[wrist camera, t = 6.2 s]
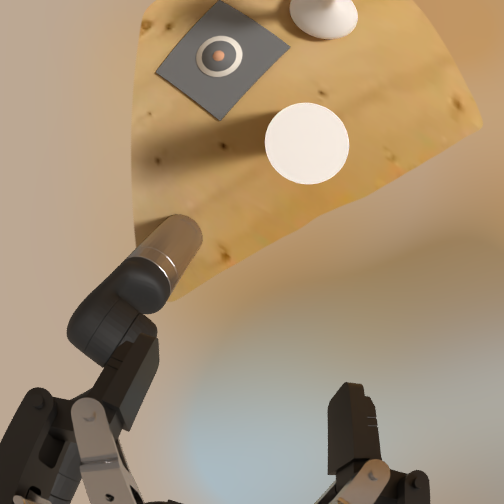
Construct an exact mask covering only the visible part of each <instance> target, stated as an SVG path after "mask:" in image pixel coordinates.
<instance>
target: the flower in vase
mask: <svg viewBox="0 0 504 504" xmlns="http://www.w3.org/2000/svg"><path fill="white" fill-rule="evenodd" d="M290 15H291V17H292V19H293V21H294V23H295V24H296V25H297V26H298V27H299V28H300V29H301V30H302V31H304V32H305V33H307V34H309V35H311V36H314V37H317V38H321V39H338V38H341V37H344V36H346V35H348V34H349V33H351V32H352V31H353V29H354V28H355V26H356V24H357V20H358V14H357V10H356V7H355V6H354V4H353V2H352V1H351V0H291V2H290Z"/></svg>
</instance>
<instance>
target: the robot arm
mask: <svg viewBox="0 0 504 504" xmlns="http://www.w3.org/2000/svg"><path fill="white" fill-rule="evenodd" d="M201 244H202V233H201V230H200V228H199V226H198V225H197V223H196V222H195V221H194V220H192V219H191V218H189V217H187V216H184V215H172V216H170V217H168V218H167V219H166V220H165V221H164V222H163V223H162V224H160V225H159V226H158V227H157V228H156V229H155V230H154V231H153V232H152V233H151V234H150V235H149V236H148V237H147V238H146V239H145V240H144V241H143V242H142V243H141V244H140V245H139V246H138V247H137V248H136V249H135V250H134V251H133V252H132V253H131V254H130V255H129V256H128V257H127V258H126V259H125V260H124V261H123V262H122V263H121V265H120V266H118V267H117V268H116V269H115V270H114V271H113V272H112V274H110V275H109V276H108V277H107V278H106V279H105V280H104V281H103V282H102V283H101V284H100V285H99V286H98V287H97V288H96V289H95V290H93V291H92V293H90V294H89V295H88V296H87V297H86V299H84V301H83V302H82V303H81V304H80V305H79V306H78V308H77V309H76V311H75V312H74V313H73V315H72V317H71V319H70V321H69V324H68V327H67V337H68V339H69V341H70V342H71V343H72V344H73V345H74V346H75V347H76V348H78V349H79V350H80V351H81V352H83V353H84V354H85V355H86V356H88V357H89V358H90V359H92V360H93V361H94V362H96V363H97V364H98V365H100V366H101V367H104V369H103V371H102V373H101V374H100V376H99V378H98V379H97V381H96V383H95V384H94V386H93V388H91V389H90V390H88V391H86V392H84V393H83V394H81V395H79V396H77V397H75V398H73V399H71V400H66V399H61V398H56V397H52V395H51V394H50V393H49V392H48V391H47V390H46V389H44V388H39V387H37V388H33V389H31V390H29V391H28V392H27V394H26V395H25V397H24V399H23V401H22V402H21V404H20V406H19V408H18V410H17V411H16V413H15V415H14V417H13V419H12V421H11V423H10V425H9V426H8V429H7V430H6V432H5V435H4V436H3V439H2V441H1V443H0V504H70V503H71V500H72V498H73V496H74V494H75V492H76V489H77V487H78V485H79V483H80V480H81V478H82V479H83V482H84V485H85V488H86V492H87V494H88V497H89V500H90V503H91V504H181V503H178V502H175V501H172V500H168V502H160V501H158V502H148V503H145V502H144V500H143V498H142V495H141V493H140V491H139V489H138V487H137V484H136V482H135V480H134V478H133V476H132V474H131V472H130V469H129V467H128V464H127V461H126V458H125V455H124V453H123V450H122V447H121V444H120V440H119V435H120V432H121V430H122V429H124V430H126V431H130V429H131V427H132V424H133V422H134V420H135V417H136V415H137V413H138V411H139V409H140V406H141V404H142V402H143V399H144V397H145V395H146V393H147V391H148V389H149V387H150V385H151V382H152V380H153V378H154V376H155V374H156V371H157V369H158V365H159V344H158V338H156V337H157V327H156V325H155V324H154V323H153V322H152V321H151V320H150V319H148V318H147V317H146V316H145V315H143V314H152V313H155V312H157V311H159V310H160V309H161V308H162V307H163V306H164V305H165V303H166V301H167V300H168V298H169V296H170V295H171V293H172V291H173V290H174V288H175V286H176V285H177V283H178V281H179V280H180V278H181V276H182V275H183V273H184V272H185V270H186V268H187V267H188V265H189V264H190V262H191V261H192V259H193V258H194V256H195V254H196V253H197V251H198V250H199V248H200V246H201ZM328 475H336V481H334V483H332V485H331V486H330V487H329V488H328V489H327V491H325V493H324V494H323V495H322V496H321V497H320V498H319V499H318V500H317V501H316V502H315V503H314V504H430V487H429V479H428V476H427V475H426V474H425V473H424V472H423V471H419V470H416V471H412V472H411V473H409V474H406V473H402V472H398V471H394V470H391V469H389V467H388V465H387V464H386V463H385V462H384V461H382V458H381V453H380V443H379V434H378V427H377V419H376V410H375V406H374V404H373V402H372V400H371V398H370V397H366V396H365V395H364V388H363V385H362V384H356V383H348V382H345V383H344V384H343V385H342V386H341V388H340V389H339V390H338V391H337V393H336V394H335V395H334V397H333V398H332V399H331V401H330V403H329V406H328Z"/></svg>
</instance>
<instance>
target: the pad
mask: <svg viewBox="0 0 504 504" xmlns="http://www.w3.org/2000/svg"><path fill="white" fill-rule="evenodd" d="M289 48H290V46H289V45H287V44H286V43H285V42H283V41H282V40H281V39H279V38H278V37H277V36H275V35H274V34H273V33H271V32H270V31H268V30H267V29H265V28H264V27H263V26H261V25H260V24H258V23H257V22H255V21H254V20H252V19H250V18H249V17H247V16H246V15H244V14H243V13H241V12H239V11H238V10H236V9H234V8H233V7H231V6H229V5H228V4H226V3H224V2H222V1H221V0H219V1H218V2H217V3H216V4H215V5H214V6H213V7H212V8H211V9H210V10H209V11H208V12H207V13H206V14H205V15H204V16H203V17H202V18H201V19H200V20H199V21H198V22H197V23H196V24H195V25H194V26H193V27H192V28H191V30H190V31H189V32H188V33H187V34H186V35H185V36H184V38H183V39H182V40H181V41H180V42H179V43H178V45H177V46H176V47H175V48H174V49H173V51H172V52H171V53H170V54H169V56H168V57H167V58H166V59H165V61H164V62H163V63H162V64H161V66H160V67H159V68H158V70H157V71H156V73H158V74H159V75H161V76H162V77H163V78H165V79H166V80H168V81H169V82H170V83H172V84H173V85H174V86H176V87H177V88H178V89H180V90H181V91H182V92H184V93H185V94H186V95H188V96H189V97H190V98H192V99H193V100H194V101H196V102H197V103H198V104H200V105H201V106H202V107H203V108H205V109H206V110H207V111H208V112H210V113H211V114H212V115H213V116H215V117H216V118H217V119H218V120H220V121H221V120H222V119H223V118H224V116H225V115H226V114H227V113H228V112H229V111H230V110H231V108H232V107H233V106H234V105H235V104H236V103H237V102H238V101H239V99H240V98H241V97H242V96H243V95H244V94H245V93H246V92H247V91H248V90H249V89H250V88H251V86H252V85H253V84H254V83H255V82H256V81H257V80H258V79H259V78H260V77H261V76H262V75H263V74H264V73H265V72H266V71H267V70H268V69H269V68H270V67H271V66H272V65H273V64H274V63H275V62H276V61H277V60H278V59H279V58H280V57H281V56H282V55H283V54H284V53H285V52H286V51H287V50H288V49H289Z"/></svg>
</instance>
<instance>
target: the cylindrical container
mask: <svg viewBox="0 0 504 504" xmlns="http://www.w3.org/2000/svg"><path fill="white" fill-rule="evenodd" d="M265 148H266V153H267V156H268V159H269V161H270V162H271V164H272V166H273V167H274V168H275V169H276V171H277V172H279V173H280V174H281V175H282V176H283V177H285V178H287V179H289V180H291V181H293V182H296V183H301V184H316V183H320V182H324V181H326V180H328V179H330V178H331V177H333V176H334V175H335V174H336V173H337V172H338V171H339V170H340V169H341V168H342V166H343V165H344V163H345V161H346V158H347V156H348V151H349V138H348V134H347V131H346V129H345V127H344V125H343V123H342V121H341V120H340V119H339V118H338V116H336V115H335V114H334V113H333V112H332V111H330V110H329V109H327V108H325V107H323V106H320V105H318V104H313V103H298V104H294V105H291V106H288V107H286V108H284V109H283V110H281V111H280V112H279V113H278V114H277V115H276V116H275V117H274V118H273V119H272V121H271V122H270V124H269V126H268V129H267V132H266V136H265Z"/></svg>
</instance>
